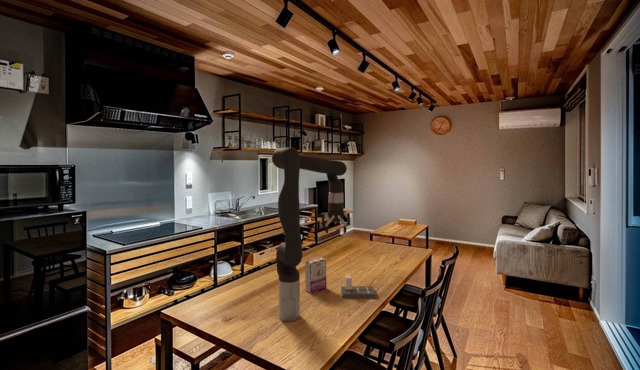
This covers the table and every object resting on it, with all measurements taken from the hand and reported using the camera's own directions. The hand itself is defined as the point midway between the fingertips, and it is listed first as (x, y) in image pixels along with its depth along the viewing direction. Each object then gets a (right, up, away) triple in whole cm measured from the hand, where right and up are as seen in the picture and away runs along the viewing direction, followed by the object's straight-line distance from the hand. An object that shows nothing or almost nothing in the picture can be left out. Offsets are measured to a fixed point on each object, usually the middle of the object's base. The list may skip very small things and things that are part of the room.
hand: (335, 233), depth 167 cm
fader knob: (+7, -30, +7) cm, 32 cm away
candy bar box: (-10, -32, +13) cm, 36 cm away
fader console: (+12, -33, +7) cm, 35 cm away
